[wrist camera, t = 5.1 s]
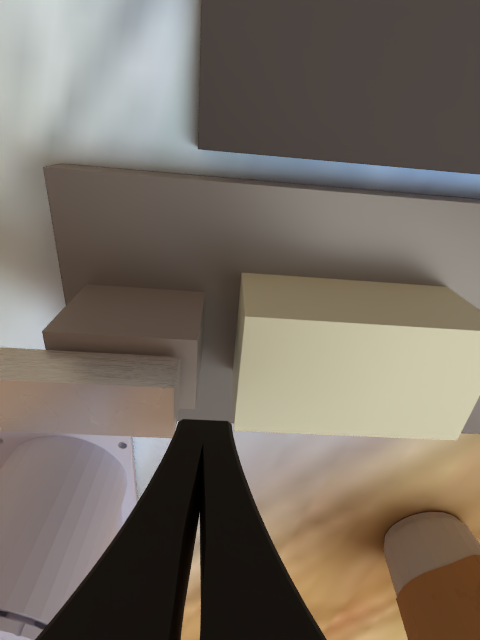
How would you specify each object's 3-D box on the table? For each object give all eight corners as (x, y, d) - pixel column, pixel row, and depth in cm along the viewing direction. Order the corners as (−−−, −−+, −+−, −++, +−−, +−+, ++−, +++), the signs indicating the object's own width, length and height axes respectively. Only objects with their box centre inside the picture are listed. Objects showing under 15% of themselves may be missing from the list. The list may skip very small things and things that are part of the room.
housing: (471, 415, 21) (544, 500, 16) (93, 397, 20) (49, 484, 15) (578, 207, 15) (738, 242, 11) (60, 163, 14) (-28, 180, 9)
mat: (512, 176, 15) (526, 178, 14) (199, 148, 14) (197, 149, 13) (625, -99, 11) (652, -115, 10) (207, -158, 10) (205, -180, 10)
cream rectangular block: (412, 379, 18) (456, 440, 14) (233, 369, 17) (233, 430, 14) (447, 286, 15) (511, 332, 12) (241, 272, 15) (245, 316, 11)
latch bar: (180, 403, 13) (173, 437, 11) (-25, 394, 12) (-58, 428, 11) (180, 357, 12) (173, 388, 10) (-42, 344, 11) (-81, 375, 10)
